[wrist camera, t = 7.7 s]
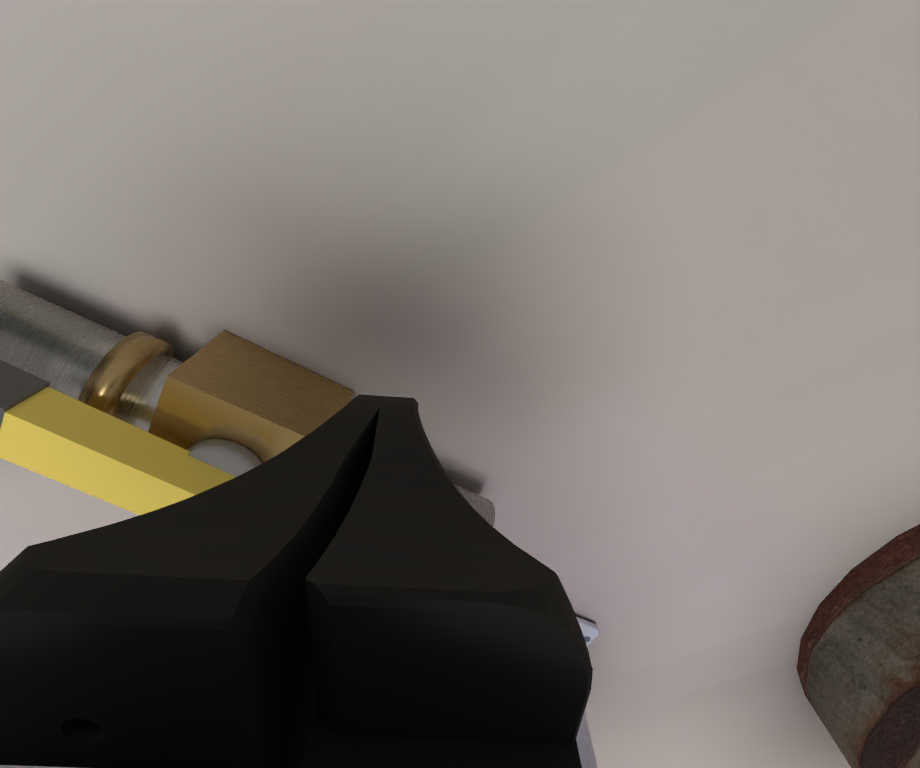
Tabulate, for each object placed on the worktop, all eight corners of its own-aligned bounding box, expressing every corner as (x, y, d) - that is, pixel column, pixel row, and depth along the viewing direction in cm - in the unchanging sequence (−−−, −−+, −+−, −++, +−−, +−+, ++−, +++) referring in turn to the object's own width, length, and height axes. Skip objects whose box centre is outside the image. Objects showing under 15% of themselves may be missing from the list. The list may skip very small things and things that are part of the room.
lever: (281, 464, 18) (257, 505, 16) (248, 520, 19) (223, 566, 17) (-81, 294, 15) (-167, 317, 13) (-92, 373, 16) (-174, 406, 14)
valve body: (504, 462, 24) (514, 528, 20) (445, 543, 26) (443, 618, 22) (24, 235, 19) (-97, 259, 15) (3, 359, 21) (-107, 410, 17)
